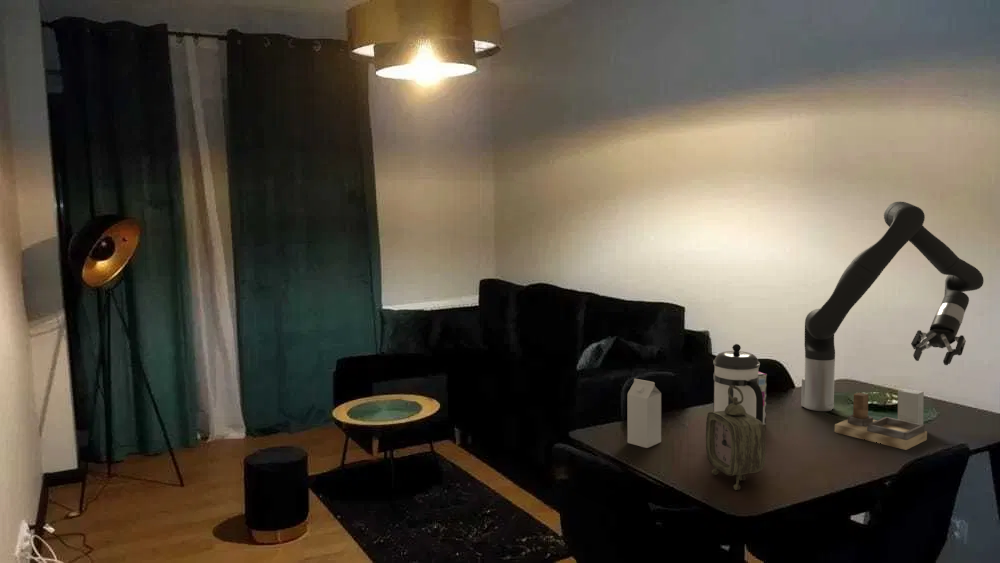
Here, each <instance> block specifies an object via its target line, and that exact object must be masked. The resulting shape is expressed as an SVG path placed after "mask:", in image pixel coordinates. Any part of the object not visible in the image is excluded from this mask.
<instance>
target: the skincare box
mask: <svg viewBox="0 0 1000 563" xmlns="http://www.w3.org/2000/svg"><path fill="white" fill-rule="evenodd" d="M924 398H925V397H924V391H921V390H917V389H916V390H914V389H910V388H904V387H903V388H901V389H899V390H897V419H899V420H903V421H908V422H912V423H917V424H921V425H924Z"/></svg>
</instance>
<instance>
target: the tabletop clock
mask: <svg viewBox="0 0 1000 563" xmlns="http://www.w3.org/2000/svg"><path fill="white" fill-rule="evenodd" d="M731 388H734V389H736V390H738V391H739V393H740V395H741V398H742V399H741V401H738V398H737V397H734V398H732V397H731V395H730V389H731ZM728 396H729V398H730V399H731V401H733V403H732V404H729V405H728V406H727V407H726V408H725V411H717V412H714V411H710V412H708V413H707V417H706V424H705V447H706V449H705V450H706V455H707V460H708V462H710V464H711V465H712V466H713V467H714V468H713V469H712V470H711V474H712V475H714V476H717V475H719V472H721V473H723V474H725V475H726V476H735V484H734V485H733V490H735V491H736V490H738V491H740V490H741V485H740V484H739V483H740V481H741V480H744V481H746V476H745V475H746V474H747V475H748V474H754V473H760V471H762V470H763V469H764V466H765V464H766V462H765V461H766V452H767V451H766V449H767V446H766V444H767V443H766V440H767V439H766V438H767V437H766V435H767V434H766V428H765V426H766V425H764V424H763V423H762V422H761V421H760V420H758V419H756V418H755V417H753V416H751V415H749V414H747V413H746V411H745V409H744V407H743V406H742V405H740V404H741V403H742V402H743V393H742V391H741V390H740V389H739V388H738V387H736V386H730V387H729V388H728Z"/></svg>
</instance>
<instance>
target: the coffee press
mask: <svg viewBox="0 0 1000 563" xmlns="http://www.w3.org/2000/svg"><path fill="white" fill-rule="evenodd" d="M731 348H732V350H727V351H722V352H720V353H718V354H717V355H716V357H715V358H714V359H713V363H712V364H713V365H714V372H713V412H717V411H725V408H726V407H727V406H728V405H729V404H732V403H733V401H731V399H730V398H729V396H728V388H729V387H730V386H736V387H738V388H739V389H740V390H741V391H742V393H743V402H742V403H741V404H740V405H742V406H743V407H744V409H745V411H746V413H747V414H749V415H751V416H753V417H755V418H756V419H758V420H760V421H761V422H762V423H763V396H762V391H761V389H760V387H759V375H758V371H759V368H760V365H761V363H760V361H759V359H758V357H757V356H756V355H754V354H752V353H751V352H748V351H742V350H741V349H742V347H741V345H740V344H738V343H735V344H733V345H732V347H731ZM730 395H731V397H732V398H734V397H737V398H738V401H741V399H742V398H741V395H740V393H739V391H738V390H736V389H734V388H731V389H730Z"/></svg>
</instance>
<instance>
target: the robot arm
mask: <svg viewBox="0 0 1000 563" xmlns="http://www.w3.org/2000/svg"><path fill="white" fill-rule="evenodd" d="M925 216H926V215H925V213H924V210H923V209H922V208H920V207H919V206H916V205H914V204H911V203H908V202H905V201H894V202H892V203H890V204H889V205H888V206H887V207H886V208H885V209H884V213H883V219H884V222H885V224H886V225H887V226H888V228H887V230H886V231H885V233H884V234H883V235H882V237H881V238H879V239H878V240H877V241H876V242H875V243H873V244H872V245H870V246H869V247H866V248H865V249H864V250H862V251H860V253H858V254H857V255H856V256H855V257H854V258H853V259H852V260H851V261H850V263H849V264H848V266H847V267H846V269H845V270H844V271H843V273H842V274H841V275H840V278H839V279H838V282H837V283H836V286H835V288H834V290H833V292H832V294H831V295H830V296H829V298H828V299H827V300H826V301H825V303H824V304H823V305H822V306H821V307H820V308H816V309H813V310H810V312H808V313H807V315H806V317H805V321H804V377H803V378H802V379H801V396H800V400H801V401H800V402H801V403H800V406H801V407H804V408H805V409H807V410H811V411H815V412H829V411H832V409H833V410H834V405H835V403H834V402H835V400H834V399H835V374H836V373H835V368H836V349H835V348H836V347H835V334H836V333H837V331H838V329H839V328H840V326H841V324H842V323H843V321H844V320H845V318H846V316H848V313H849V312H850V311H851V310H852V308H853V307H854V306H855V305H856V304H857V303H858V301H860V299H862V297H863V296H864V295H865V294H866V293H867V291H868V290H869V289H870V288H871V286H873V284H874V283H875V282H876V280H877V279H878V278H879V277H880V275H881V274H882V273H883V271H884V270H885V269H886V268H887V266H888V265H889V264H890V263H891V261H892V260H893V259H894V258H895V256H896V255H897V254H898V253H899V251H900V250H901V249H902V248H903V247H904V246H905V245H906V244H907V243H908V242H909V243H911V244H912V245H913V246H914V247H915V248H916V249H917V250H918V251H919V252H920V253H921V254H922V255H923V256H924V257H925V259H927V261H928V262H929V263H930V264H931V265H932V266H933V267H934V268H936V270H937V271H938V272H939V273H940V274H942V275H944V276H945V275H946V278H945V281H944V297H943V299H942V302H941V303H940V306H939V307H938V309H937V310H936V313H935V315H934V318H933V319H932V322H931V325H930V327H929V330H928V331H927V332H922V330H920V329H918V330H917V331H916V332H915V335H914V337H913V339H912V341H911V343H910V344H911V347H912V348H913V350H914V352H913V354H912V356H913V358H914V360H915V361H916V362H919V361H920V358H921V356H922V354H923V351H925V350H927V349H930V348H932V347H933V348H939V349H944V348H946V349H947V352H946V354H945V356H944V358H943V362H942V363H943V364H944V365H945V366H948V365H950V364H951V362H952V360H953V358H954V356H956V355H957V356H961V355H962V354H963V352H964V348H965V345H966V342H967V341H966V339H965V335H962V334H961V335H960V336H957V335H958V332H959V330H960V328H961V325H962V324H963V320H964V316H965V312H966V311H967V308H968V306H969V303H970V298H969V296H968V294H966V293H965V292H970V291H976V290H979V289H981V287H982V286H984V276H983V274H982V272H981V271H980V270H979V269H978V268H976V267H975V266H974V265H972V264H970V263H969V262H967V261H965V260H964V259H961V258H960V257H958V256H957V254H956V253H955V252H954V251H953V250H952V249H951V248H950V247H949V246H948V245H947V244H946V243H944V242H943V241H942V240H941V239H940V238H939V237H937V236H936V235H934V234H933V233H932V232H930V231H929V230H928V229H927V228H926V227H925V226H924V223H925V219H926V218H925ZM955 342H956V346H955V348H953V347H952V346H951V345H952V344H953V343H955Z"/></svg>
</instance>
